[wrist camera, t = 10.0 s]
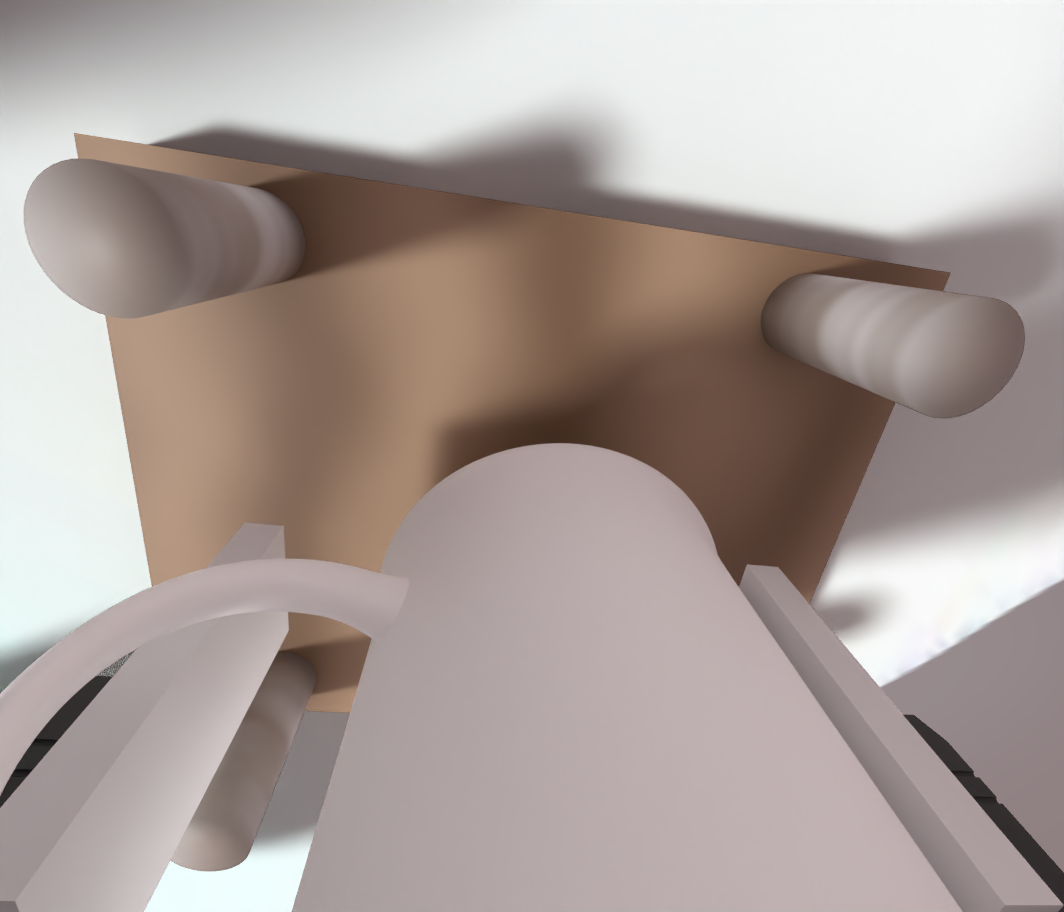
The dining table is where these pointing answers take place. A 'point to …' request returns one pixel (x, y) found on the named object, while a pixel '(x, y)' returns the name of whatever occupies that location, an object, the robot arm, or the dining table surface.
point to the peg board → (467, 378)
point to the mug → (548, 711)
